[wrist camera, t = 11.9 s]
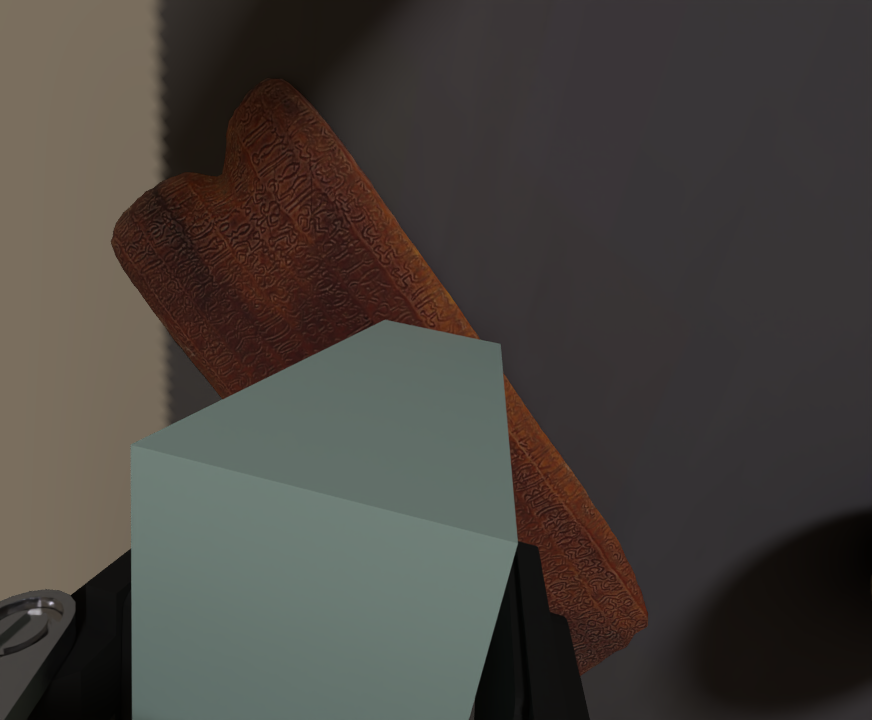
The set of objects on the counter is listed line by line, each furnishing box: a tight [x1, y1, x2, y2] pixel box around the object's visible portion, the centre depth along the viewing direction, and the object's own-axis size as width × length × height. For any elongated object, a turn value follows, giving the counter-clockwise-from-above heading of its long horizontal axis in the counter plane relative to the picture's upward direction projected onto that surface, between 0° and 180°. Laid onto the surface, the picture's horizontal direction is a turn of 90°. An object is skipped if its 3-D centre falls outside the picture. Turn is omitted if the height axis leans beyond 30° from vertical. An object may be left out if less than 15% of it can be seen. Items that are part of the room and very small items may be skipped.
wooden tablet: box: [111, 78, 648, 676], centre depth 16 cm, size 27×10×2 cm, turn 36°
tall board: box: [131, 320, 518, 720], centre depth 10 cm, size 4×10×10 cm, turn 169°
